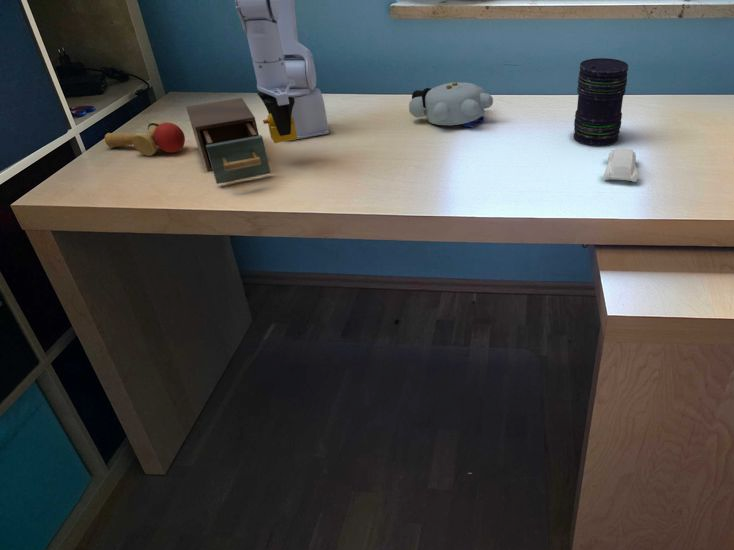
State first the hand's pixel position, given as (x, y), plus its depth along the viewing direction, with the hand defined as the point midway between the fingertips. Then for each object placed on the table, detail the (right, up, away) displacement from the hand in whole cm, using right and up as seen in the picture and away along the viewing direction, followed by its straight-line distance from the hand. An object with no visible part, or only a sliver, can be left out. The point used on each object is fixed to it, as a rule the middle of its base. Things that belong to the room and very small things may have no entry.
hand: (282, 131), depth 127 cm
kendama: (-32, -1, +10) cm, 34 cm away
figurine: (+33, +11, +22) cm, 41 cm away
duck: (0, -1, +1) cm, 1 cm away
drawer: (-8, -8, -1) cm, 12 cm away
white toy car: (+67, -9, -3) cm, 67 cm away
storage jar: (+65, +2, +11) cm, 66 cm away
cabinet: (-13, -2, +8) cm, 15 cm away
